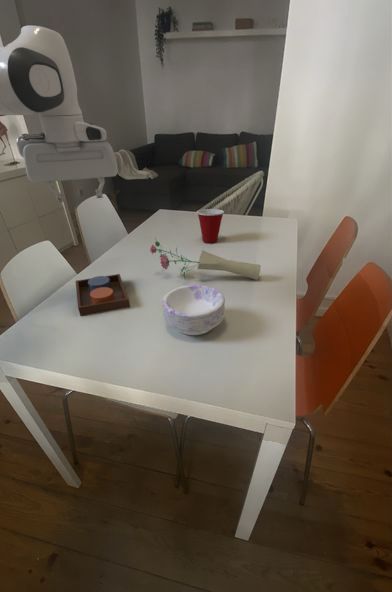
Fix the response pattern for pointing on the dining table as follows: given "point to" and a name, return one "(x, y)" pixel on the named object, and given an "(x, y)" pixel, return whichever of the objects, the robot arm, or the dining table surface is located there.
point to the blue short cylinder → (99, 282)
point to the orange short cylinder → (102, 295)
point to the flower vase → (213, 263)
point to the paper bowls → (193, 309)
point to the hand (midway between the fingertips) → (80, 199)
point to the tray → (89, 308)
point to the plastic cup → (210, 224)
